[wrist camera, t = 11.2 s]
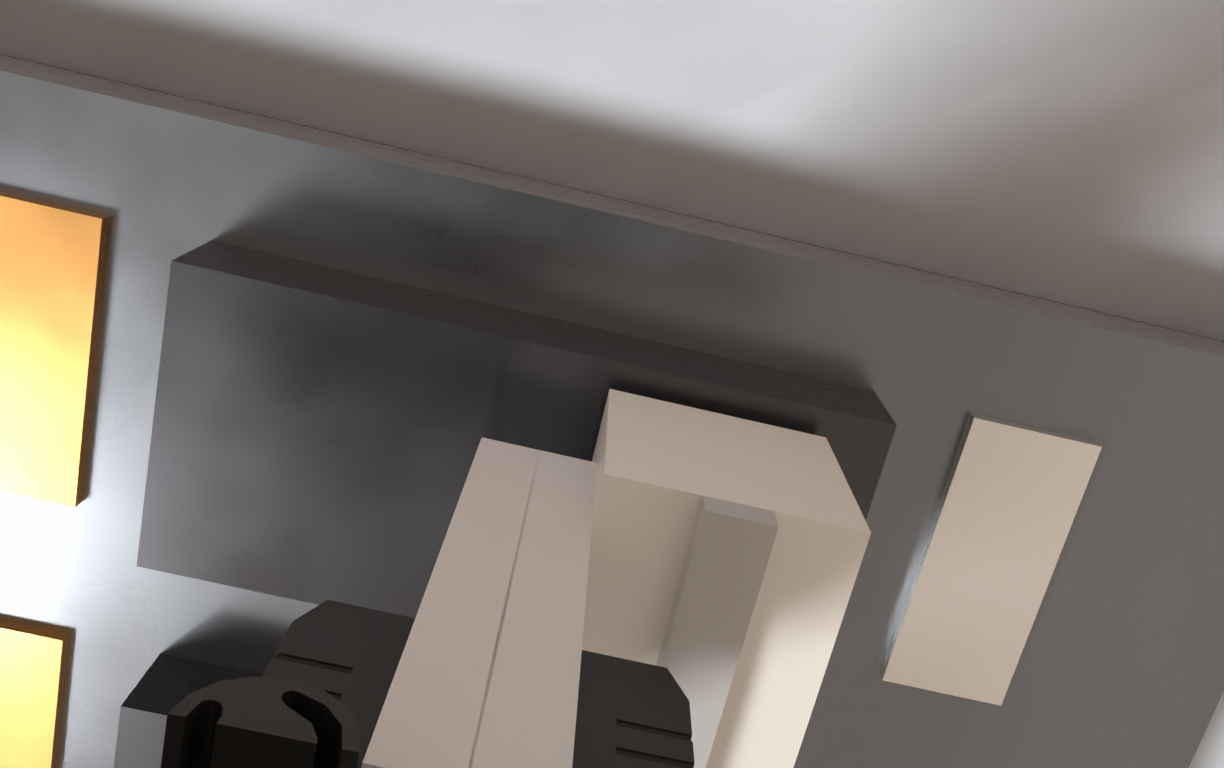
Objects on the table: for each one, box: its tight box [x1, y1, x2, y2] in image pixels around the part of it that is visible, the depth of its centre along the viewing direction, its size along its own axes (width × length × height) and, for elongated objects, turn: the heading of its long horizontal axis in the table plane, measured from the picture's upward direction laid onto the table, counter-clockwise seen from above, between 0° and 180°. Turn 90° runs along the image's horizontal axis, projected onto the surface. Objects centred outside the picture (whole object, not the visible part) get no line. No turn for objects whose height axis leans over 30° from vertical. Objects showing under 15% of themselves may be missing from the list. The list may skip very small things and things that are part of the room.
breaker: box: [582, 389, 871, 768], centre depth 14 cm, size 3×4×3 cm
